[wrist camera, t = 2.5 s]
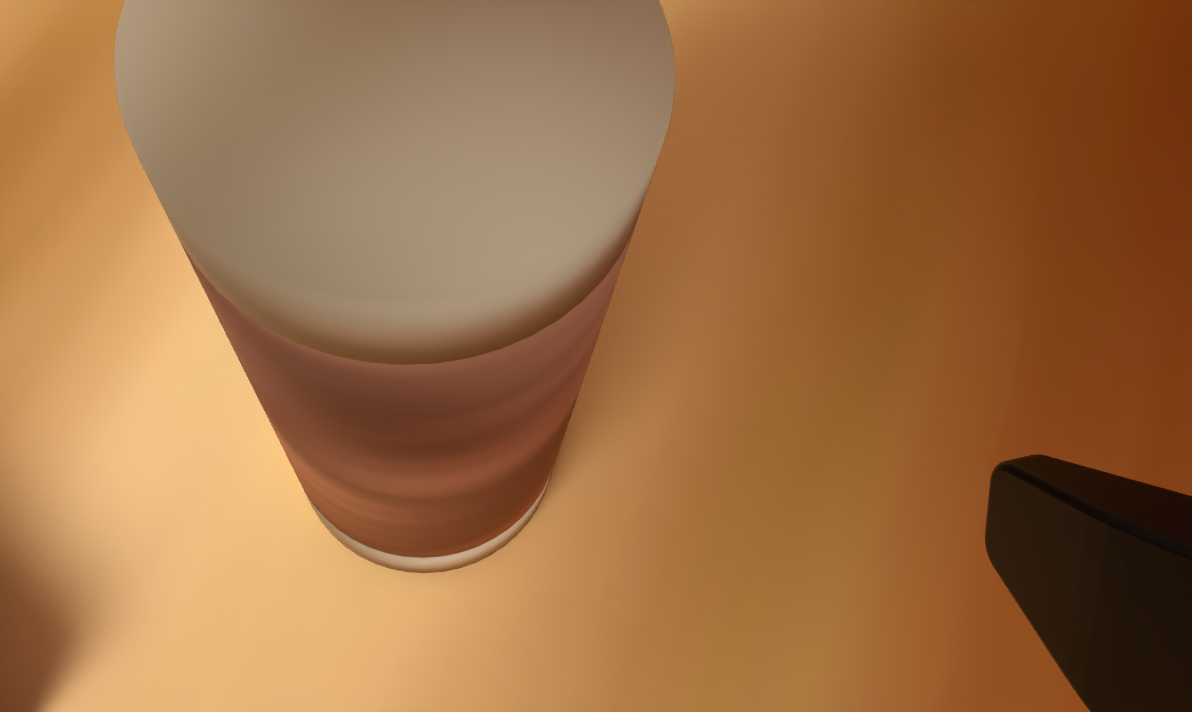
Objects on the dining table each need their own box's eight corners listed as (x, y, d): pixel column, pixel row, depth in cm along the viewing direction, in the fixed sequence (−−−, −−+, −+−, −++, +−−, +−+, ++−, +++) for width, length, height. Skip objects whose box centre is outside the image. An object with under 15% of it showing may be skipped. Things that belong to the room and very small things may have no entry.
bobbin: (588, 386, 22) (742, -44, 10) (495, 613, 20) (560, 389, 9) (367, 297, 22) (280, -225, 11) (253, 514, 20) (-6, 160, 9)
